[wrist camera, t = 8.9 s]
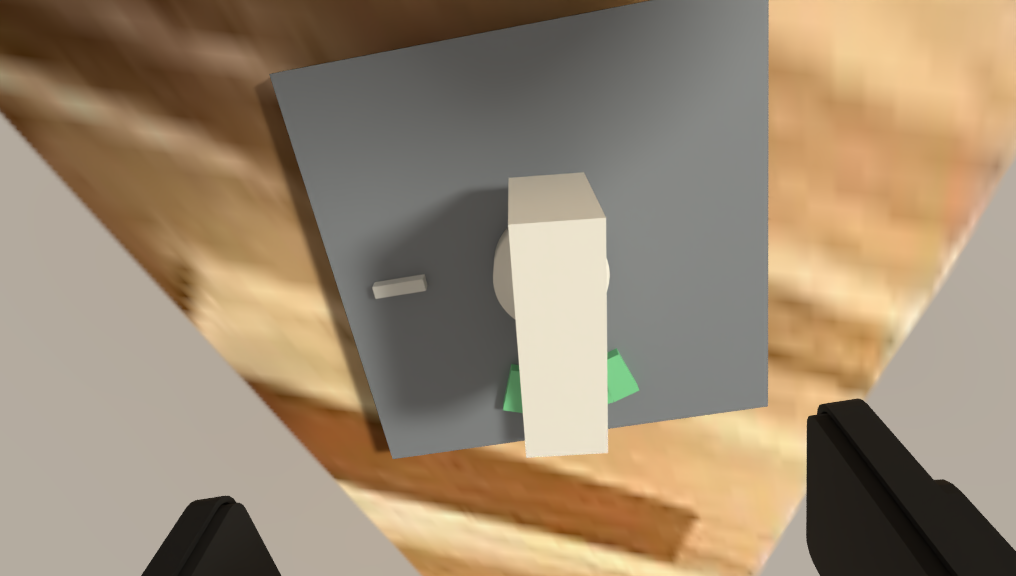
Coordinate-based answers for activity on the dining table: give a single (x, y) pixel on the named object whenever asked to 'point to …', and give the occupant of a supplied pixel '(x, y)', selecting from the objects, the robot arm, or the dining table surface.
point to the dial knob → (557, 310)
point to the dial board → (534, 152)
